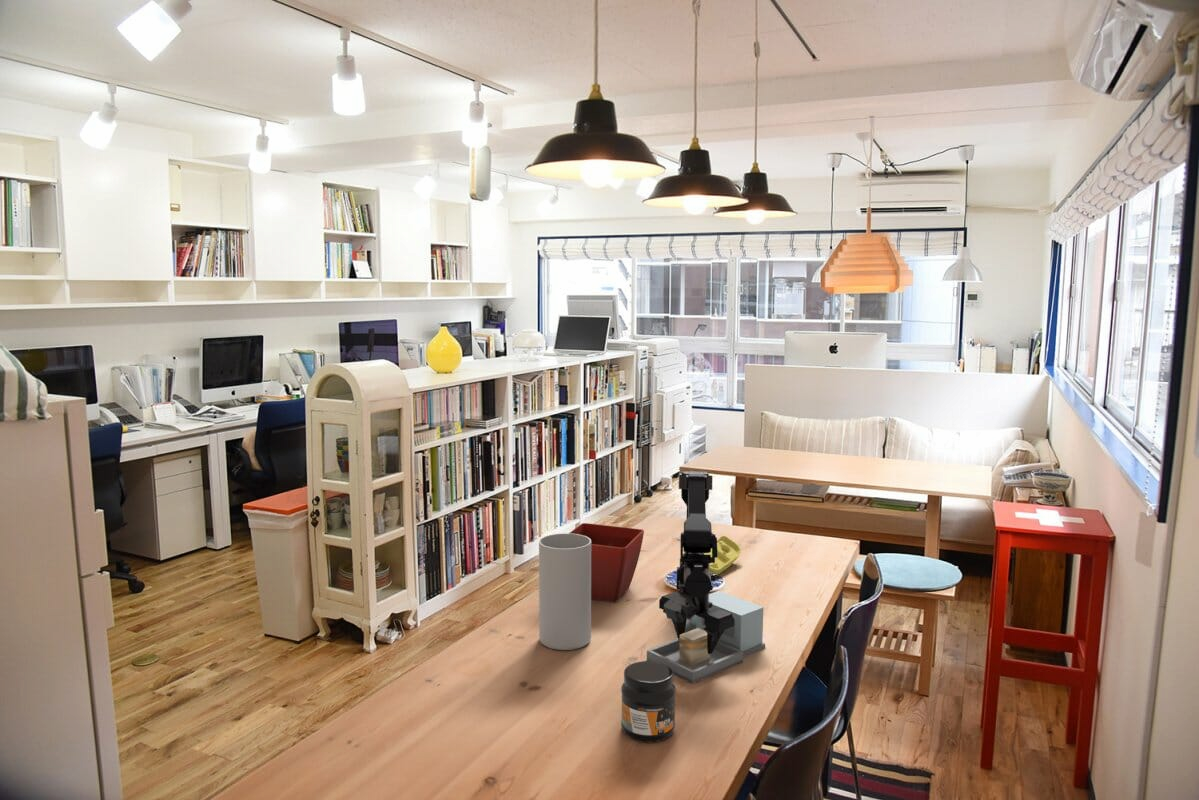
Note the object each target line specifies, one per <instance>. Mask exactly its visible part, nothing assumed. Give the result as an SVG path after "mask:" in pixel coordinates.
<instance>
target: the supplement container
mask: <svg viewBox="0 0 1199 800" xmlns="http://www.w3.org/2000/svg"><path fill="white" fill-rule="evenodd" d="M674 676H675V674H673V671H672V669H671V668H670V667H668V666H667V665H665V664H662V663H659V662H653V661H647V660H646V661H645V660H644V661H643V660H642V661H638V662H637V661H636V662H633V663H631V664H629V665H627V666H626V667H625V668H624V670H623V682H622V684H621V689H620V692H621V720H620V725H621V730H622V731H623V732H624V734H625V735H626V736H628V737H629V738H632V739H633V740H636V741H639V742H645V743H655V742H659V741H663V740H666V739H667V738H669V737H670V736H671V735H672V734H673V733H674V732H675V728H676V721H675V720H676V719H675V718H676V713H675V712H676V711H675V710H676V694H677V690H676V689H677V688H676V686H675V685H674Z"/></svg>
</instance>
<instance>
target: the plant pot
mask: <svg viewBox="0 0 1199 800" xmlns="http://www.w3.org/2000/svg"><path fill="white" fill-rule="evenodd" d="M569 533H570V534H579V535H583V536H586V537H588V538H590V539H591V600H597V601H603V602H611V603H615V602H618V601H619V600H620V599H621V597H622V596H624V594H625V593H626V592H627V591H628V590H629V588H630V587H631V583H632V581H633V578H634V575H635V573H636V568H637V566H638V562H639V560H640V559H639V558H640V554H641V550H642V546H643V540H644V535H645V534H644V533H645V530H644V529H639V528H632V527H624V526H623V527H622V526H613V525H607V524H606V525H605V524H596V523H588V522H582V523H581V524H579V525H578V526H577V527H575V528H574V529H572V530H571V531H570V532H569Z"/></svg>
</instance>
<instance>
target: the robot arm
mask: <svg viewBox="0 0 1199 800" xmlns="http://www.w3.org/2000/svg"><path fill="white" fill-rule="evenodd" d="M678 490H681V491H680V496H681V497H680V498H681V499H682V501H683V502H684V504H685V506H686V519H685V520H684V522H683V531H680V542H679V544H680V547H679V548H680V558H679V566H677V567H676V581H675V582H676V585H675V586H676V591H673V592H671V593H667V594H664V595H662V596H661V597H660V598H659V600H658V603H659V605H658V606H659V607H658V609H660V610H662V613H664V614H665V615H666V618H667V619H668V620H671V622H672V624H673V627H674V630H675V633H676V636H677V639H678V640H679V638H680V634H683V633H685V627H686V621H687V619H690V618H692V617H693V616H694V615H696V616H699V617H701V618H704V624H705V626H706V627H705V628H704V630H705V631H706V632H707V650H708V654H711V653H712V652H713V650H714V648H715V646H716V645H717V643H718V641H719V639H720V637H721V635H722V634H723V632H724V631H725V630H726V629H728V628H731V627H733V626H734V624H735V618H734V616H733V615H732V614H731V613H728V612H726V611H723V610H721V609H720V610H717V611H715V612H710V611H708V609H709V608H711V607H712V603H711V602H709V594H710V591H713V590H714V586H713V584H712V577H711V573H710V571H709V569H710V563H715V558H717V555H718V554H717V541H718V538H717V536H716V533H715V532H712V529H713V528H712V522H711V521H710V520H709V519H708V518H707V517H706V516H707V514H706V510H707V509H706V503H707V501H708V500H709V499H710V498H709V497H710V491H712V490H713V475H710V474H709V473H708V471H707V470H706V471H703V470H701V471H698V470H683V472H681V474H679V475H678ZM711 548H712V557H711V555H706V554H704V553H710V552H711Z"/></svg>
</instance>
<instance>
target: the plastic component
mask: <svg viewBox="0 0 1199 800" xmlns="http://www.w3.org/2000/svg"><path fill="white" fill-rule="evenodd" d="M741 553H742V549H741V546H740V545H739V544H738V543H737V542H736V541H734V540H733V539H732V538H730V537H729V536H727V535H722V536H720V537H719V539H717V554H718V555H717V558H715V563H710V569H709V571H710V573H712V574H716V575H717V576H718V574H719V575H720V574H721V573H723V572H724V571H726V570H727V569H729V567H731V566H732V564H733V563H734V562H735V561H736V560H737V559H738V558H739V557H740V555H741ZM704 554H706V555H711V557H712V548H711V552H710V553H704Z"/></svg>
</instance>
